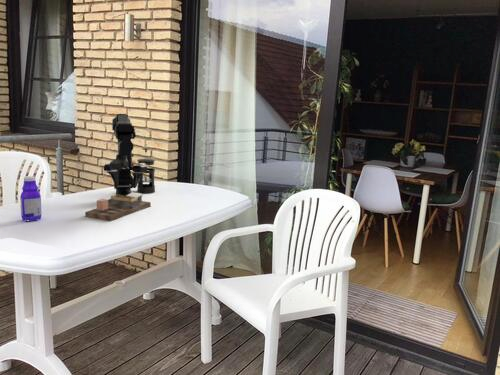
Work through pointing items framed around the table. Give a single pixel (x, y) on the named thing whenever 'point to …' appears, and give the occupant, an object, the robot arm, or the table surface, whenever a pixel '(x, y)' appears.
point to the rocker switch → (135, 194)
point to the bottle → (30, 200)
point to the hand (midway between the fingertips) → (125, 187)
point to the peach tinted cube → (102, 204)
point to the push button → (123, 198)
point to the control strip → (118, 209)
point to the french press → (146, 187)
